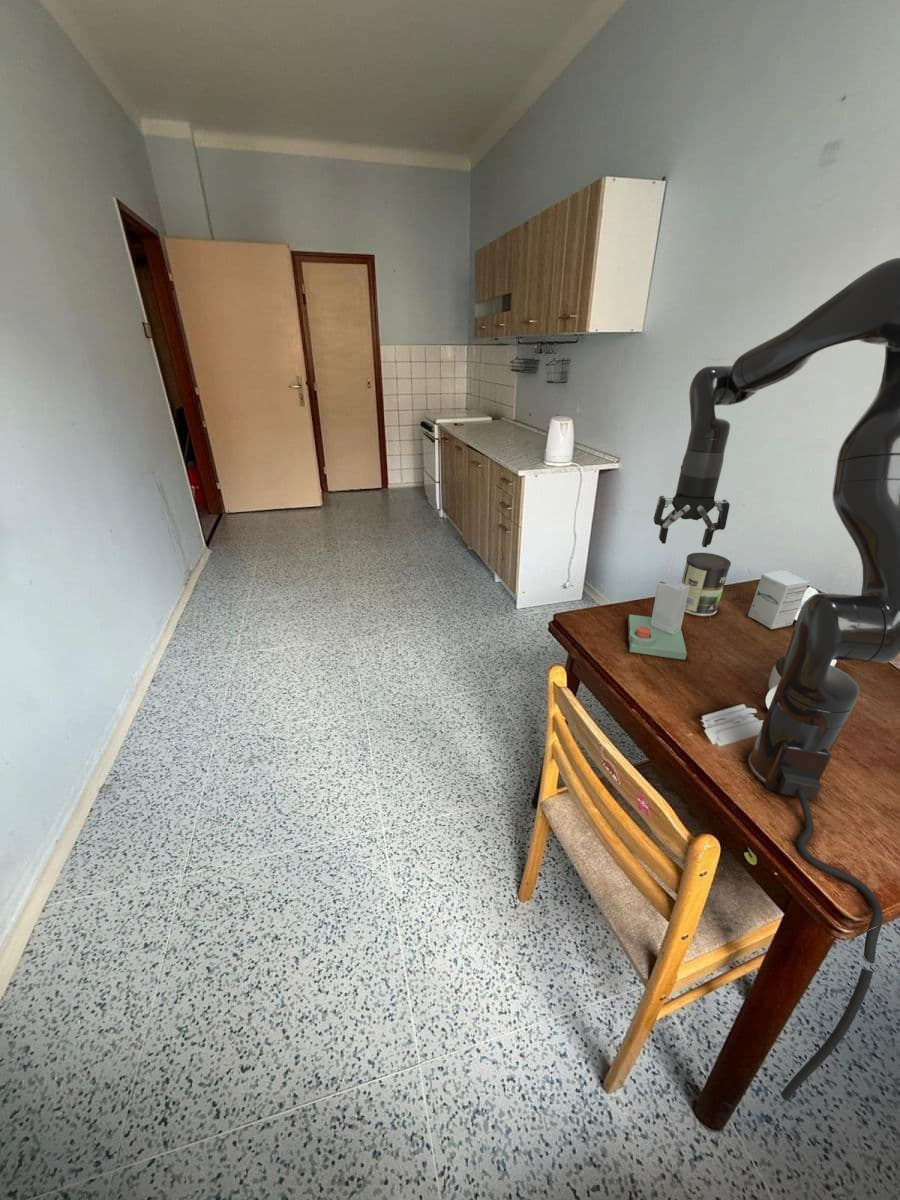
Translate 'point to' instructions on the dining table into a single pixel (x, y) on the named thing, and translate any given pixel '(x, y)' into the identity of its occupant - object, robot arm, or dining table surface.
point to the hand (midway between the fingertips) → (683, 544)
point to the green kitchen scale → (655, 640)
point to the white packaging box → (777, 599)
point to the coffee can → (704, 582)
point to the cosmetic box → (669, 605)
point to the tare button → (643, 632)
